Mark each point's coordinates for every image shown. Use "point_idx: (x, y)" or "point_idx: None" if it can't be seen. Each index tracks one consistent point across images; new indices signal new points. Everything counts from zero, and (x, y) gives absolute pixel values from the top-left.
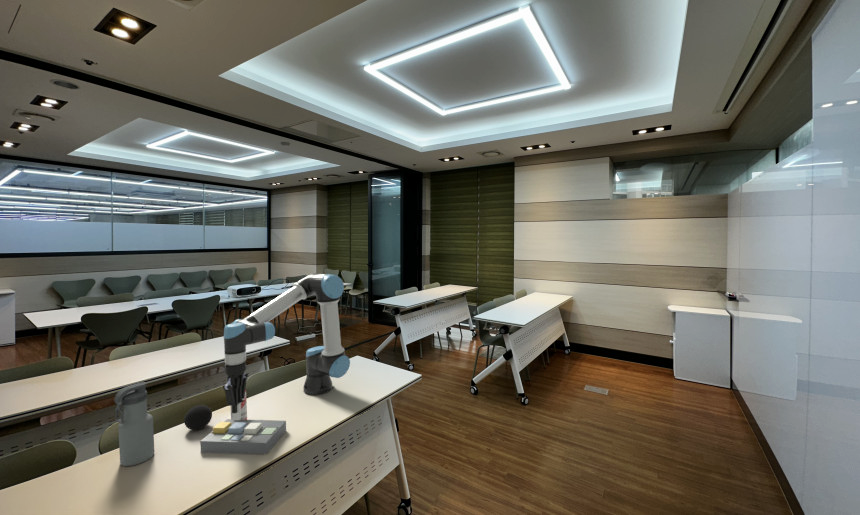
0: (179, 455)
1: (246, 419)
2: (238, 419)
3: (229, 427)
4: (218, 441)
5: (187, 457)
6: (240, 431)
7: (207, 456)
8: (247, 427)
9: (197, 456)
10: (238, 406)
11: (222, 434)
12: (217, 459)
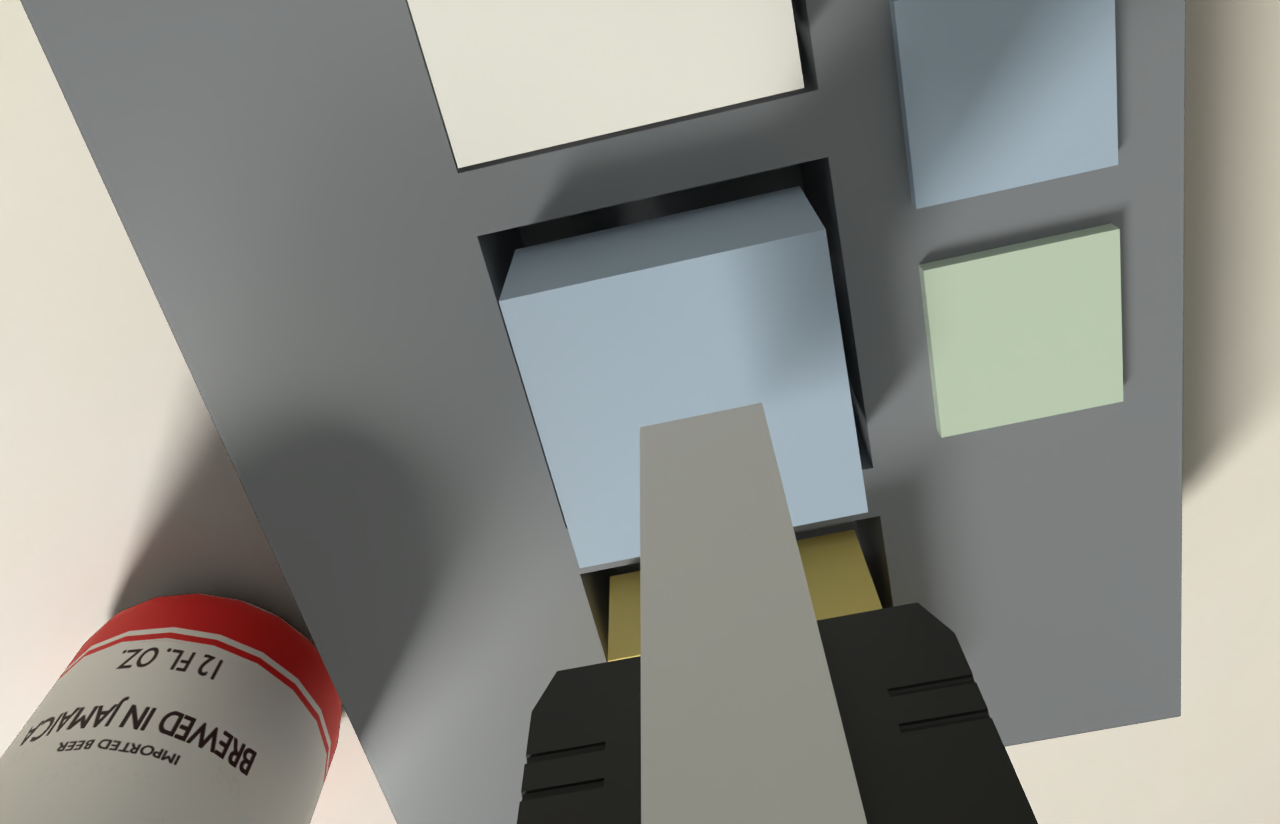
0: (1181, 771)
1: (122, 621)
2: (766, 426)
3: (826, 518)
4: (1182, 394)
5: (1223, 648)
6: (767, 210)
7: (1185, 401)
8: (720, 38)
9: (1193, 543)
10: (846, 765)
11: (916, 526)
12: (1266, 161)
